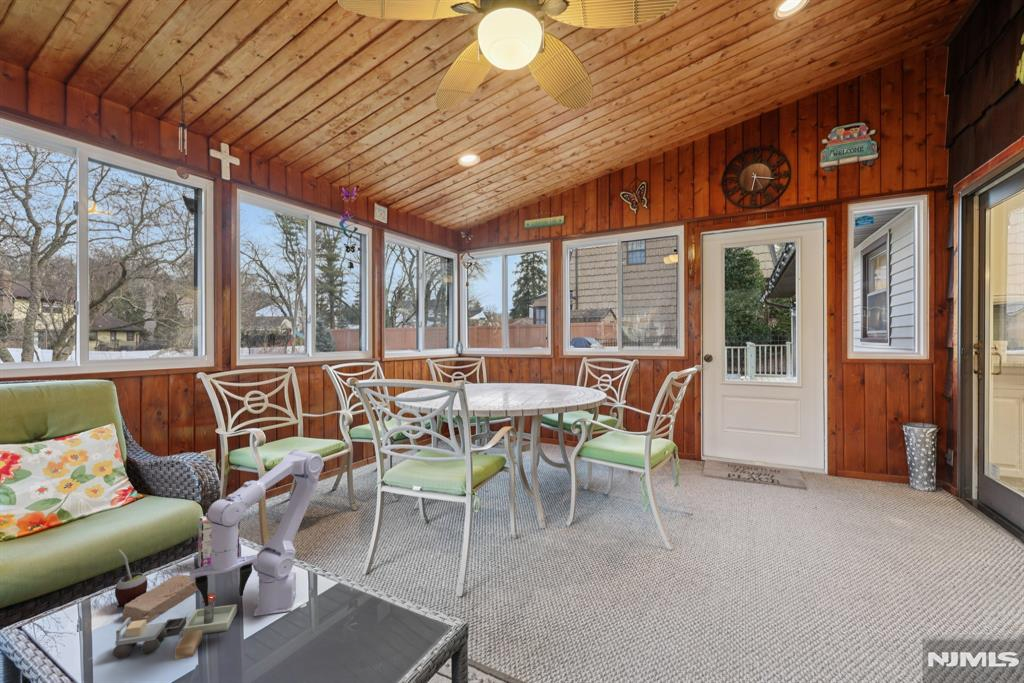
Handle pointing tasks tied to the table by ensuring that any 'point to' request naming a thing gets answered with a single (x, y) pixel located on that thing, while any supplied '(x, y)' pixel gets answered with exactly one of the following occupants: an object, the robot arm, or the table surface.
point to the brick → (160, 599)
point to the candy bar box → (207, 542)
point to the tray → (220, 623)
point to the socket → (175, 622)
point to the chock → (188, 644)
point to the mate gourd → (129, 586)
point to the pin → (209, 608)
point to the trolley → (138, 637)
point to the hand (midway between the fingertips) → (224, 599)
